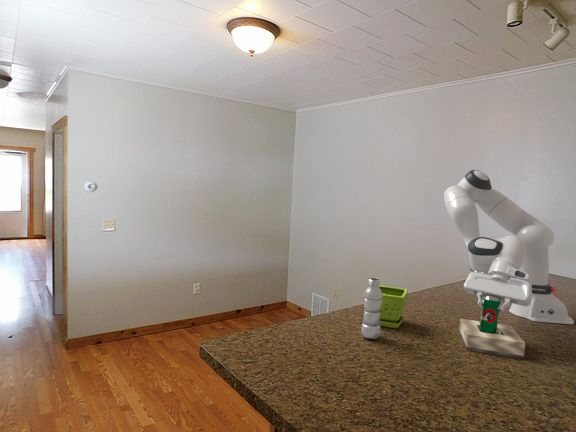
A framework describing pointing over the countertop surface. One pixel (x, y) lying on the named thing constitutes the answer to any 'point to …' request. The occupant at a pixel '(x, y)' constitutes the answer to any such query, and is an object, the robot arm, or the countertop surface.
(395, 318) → the flower pot
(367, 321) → the plastic bottle
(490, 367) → the countertop surface
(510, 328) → the can holder
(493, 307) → the soda can
